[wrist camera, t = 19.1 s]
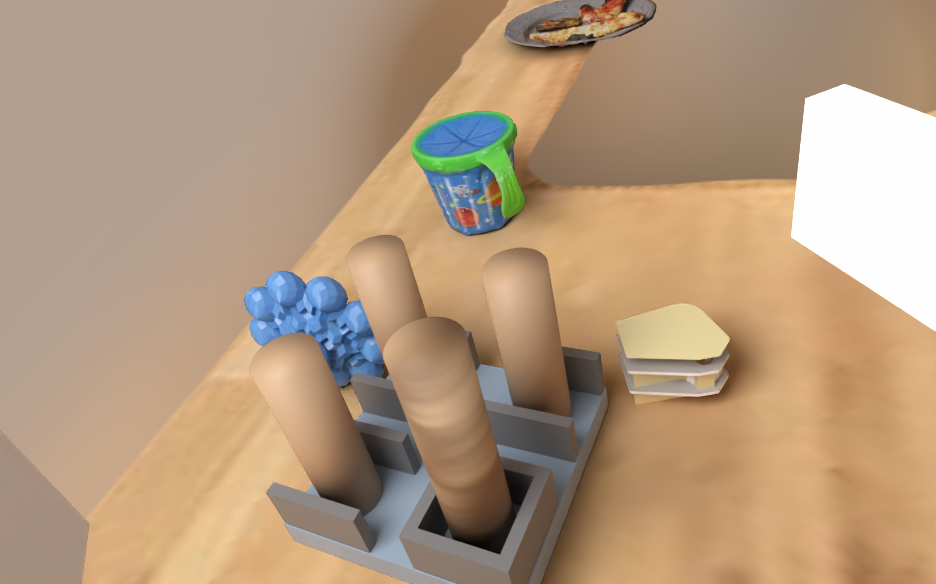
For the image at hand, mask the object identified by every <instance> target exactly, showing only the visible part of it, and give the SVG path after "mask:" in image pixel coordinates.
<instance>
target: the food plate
mask: <svg viewBox="0 0 936 584" xmlns="http://www.w3.org/2000/svg"><path fill="white" fill-rule="evenodd" d="M655 12H656V4H655V3H654V2H653V1H651V0H562V1H556V2H553V3H550V4H546V5H542V6H540V7H538V8H535V9H533V10H531V11H529V12H526V13H523V14H521V15H519V16H517V17H515V19H513V20H512V21H511V22H509V24H508V25H507V26H506V30H505V33H504V37H505V38H506V39H508V40H510V41H512V42H514V43H517V44H522V45H529V46H530V47H531V46H532V47H533V46H535V47H548V46H562V47H564V46H566V45H568V44H578V43H582V42H583V43H584V44H586V45H587V42H588V41H594V40H595V41H596V40H602V39H607V38H614V37H616V36H622V35H624V34H626V33H628V32H631V31H633V30H635V29H637V28H639V27H641V26H643V25H645V24H646V23H647V22H648V21H649V20H651V19H652V18H653V17H654V14H655Z"/></svg>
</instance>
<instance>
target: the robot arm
mask: <svg viewBox="0 0 936 584" xmlns="http://www.w3.org/2000/svg"><path fill="white" fill-rule="evenodd" d="M804 109H805V110H804V118H803V128H802V138H801V147H800V156H799V166H798V176H797V185H796V195H795V205H794V214H793V224H792V234H791V237H792V238H793V239H795V240H796V241H798V242H799V243H801V244H803V245H804V246H806V247H807V248H809V249H810V250H812V251H813V252H815V253H816V254H818V255H819V256H821V257H822V258H824V259H826V260H827V261H829V262H830V263H832V264H833V265H835V266H836V267H838V268H839V269H841V270H842V271H844V272H845V273H847V274H849V275H850V276H852V277H853V278H855V279H856V280H858V281H859V282H861V283H862V284H864V285H865V286H867V287H868V288H870V289H872V290H873V291H875V292H876V293H878V294H879V295H881V296H882V297H884V298H885V299H887V300H888V301H890V302H891V303H893V304H895V305H896V306H898V307H899V308H901V309H902V310H904V311H905V312H907V313H908V314H910V315H911V316H913V317H914V318H916V319H918V320H919V321H921V322H922V323H924V324H925V325H927V326H928V327H930V328H931V329H933V330H934V331H936V118H935V117H933V116H930V115H927V114H924V113H922V112H919V111H916V110H914V109H911V108H908V107H905V106H903V105H900V104H897V103H895V102H892V101H889V100H886V99H884V98H881V97H878V96H876V95H873V94H870V93H868V92H865V91H862V90H860V89H857V88H854V87H851V86H848V85H846V84H843V85H841V86H838V87H835V88H833V89H830V90H827V91H825V92H822V93H819V94H817V95H814V96H811V97H809V98H806V99H805V108H804ZM88 531H89V523H88V522H87V521H86V519H85V518H84V517H83V516H82V515H81V514H80V513H79V512H78V511H77V510H76V509H75V508H74V507H73V506H72V505H71V504H70V503H69V502H68V501H67V500H66V498H65V497H64V496H63V495H62V494H61V493H60V492H59V491H58V490H57V489H56V488H55V487H54V486H53V485H52V484H51V483H50V482H49V481H48V480H47V479H46V477H45V476H44V475H43V474H42V473H41V472H40V471H39V470H38V469H37V468H36V467H35V466H34V465H33V464H32V463H31V462H30V461H29V460H28V459H27V458H26V457H25V455H23V453H22V452H21V451H20V450H19V449H18V448H17V447H16V446H15V445H14V444H13V443H12V442H11V441H10V440H9V439H8V438H7V437H6V435H4V433H3V432H2V431H1V430H0V584H82V576H83V569H84V561H85V554H86V546H87V539H88Z"/></svg>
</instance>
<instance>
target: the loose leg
mask: <svg viewBox="0 0 936 584" xmlns="http://www.w3.org/2000/svg"><path fill="white" fill-rule="evenodd" d="M383 358H384V362H385V364H386V367H387V369H388V372H389V375H390V377H391V380H392V382H393V385H394V387H395V390H396V393H397V395H398V398H399V400H400V403H401V406H402V408H403V411H404V413H405V416H406V419H407V421H408V424H409V426H410V429H411V432H412V434H413V437H414V439H415V442H416V444H417V447H418V450H419V452H420V455H421V457H422V460H423V463H424V465H425V468H426V470H427V473H428V476H429V478H430V481H431V483H432V486H433V489H434V491H435V494H436V496H437V499H438V501H439V504H440V507H441V509H442V512H443V514H444V517H445V520H446V522H447V525H448V527H449V530H450V533H451V535H452V538H453V540H456V541H459V542H462V543H465V544H468V545H471V546H474V547H477V548H481V549H484V550H487V551H490V552H493V553H496V554H499V555H500V554H501V551H502V549H503V547H504V545H505V542H506V540H507V538H508V535H509V533H510V531H511V528H512V526H513V524H514V522H515V519H516V514H515V511H514V507H513V503H512V500H511V496H510V492H509V489H508V485H507V482H506V478H505V474H504V471H503V467H502V463H501V460H500V456H499V452H498V449H497V445H496V442H495V438H494V434H493V431H492V427H491V423H490V420H489V416H488V413H487V409H486V405H485V402H484V398H483V394H482V391H481V387H480V383H479V380H478V376H477V373H476V369H475V365H474V362H473V358H472V354H471V351H470V347H469V343H468V340H467V336H466V333H465V330H464V329H463V327H462V326H461V325H460V324H459V323H457V322H455V321H453V320H451V319H448V318H443V317H428V318H423V319H419V320H416V321H413V322H411V323H408V324H406V325H405V326H403V327H401V328H400V329H398V330H397V331H396V332H395V333H394V334H393V335H392V336H391V337H390V338H389V340H388V341H387V343H386V345H385V347H384V351H383Z"/></svg>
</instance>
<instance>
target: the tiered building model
mask: <svg viewBox="0 0 936 584" xmlns="http://www.w3.org/2000/svg"><path fill="white" fill-rule="evenodd" d="M615 324H616V327H617V330H618V333H619V334H617V335H616V336H617V341H618V344H619V347H620V350H621V353H620V354H619V355H618V356H619V361H620V364H621V367H622V370H623V373H624V376H625V379H626V383H627V386H628V389H629V392H630V393H631V394H632V395H633V398H634V401H635V404H636V405H638V404H644V403H650V402H655V401H661V400H667V399H673V398H679V397H685V396H695V397H700V396H706V395H712V394H717V393H719V392H720V391H721V389H722V387H723V386H724V384H725V382H726V380H727V379H728V376H729V374H728V372H727V370H726V369H725V368H724V367H723V366H724V364H725V363H726V361H727V359H728V358H729V351H728V349H727V348H726V346H727V344H728V342H729V341H730V339H729V337H728V335H727V334H726V333H725V332H724V331H723V330H722V329H721V328H720V327H719V326H718V325H716V324H715V323H714V322H713V321H712V320H711V319H710V318H709V317H708V316H707V315H706V314H705V313H704V312H703V311H702V310H701V309H700V308H698V307H696V306H694V305H690V304H683V303H681V304H673V305H669V306H666V307H663V308H659V309H656V310H652V311H649V312H645V313H642V314H638V315H635V316H632V317H628V318H625V319H621V320H618V321H616V322H615Z"/></svg>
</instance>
